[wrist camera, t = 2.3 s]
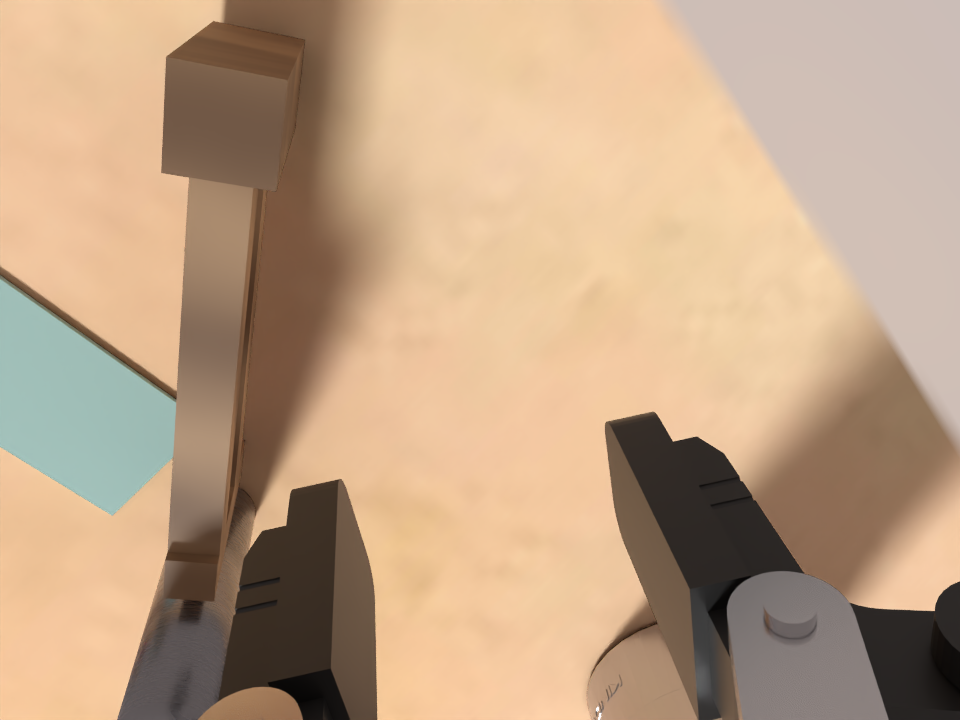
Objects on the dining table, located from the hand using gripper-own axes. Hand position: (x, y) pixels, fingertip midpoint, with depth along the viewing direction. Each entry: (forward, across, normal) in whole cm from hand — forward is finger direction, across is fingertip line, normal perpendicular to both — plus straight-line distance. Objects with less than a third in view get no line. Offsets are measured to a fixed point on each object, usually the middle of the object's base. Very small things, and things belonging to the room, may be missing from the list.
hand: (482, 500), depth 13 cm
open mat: (+19, +17, +3) cm, 26 cm away
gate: (+19, +7, +3) cm, 20 cm away
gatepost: (+19, +11, +13) cm, 26 cm away
